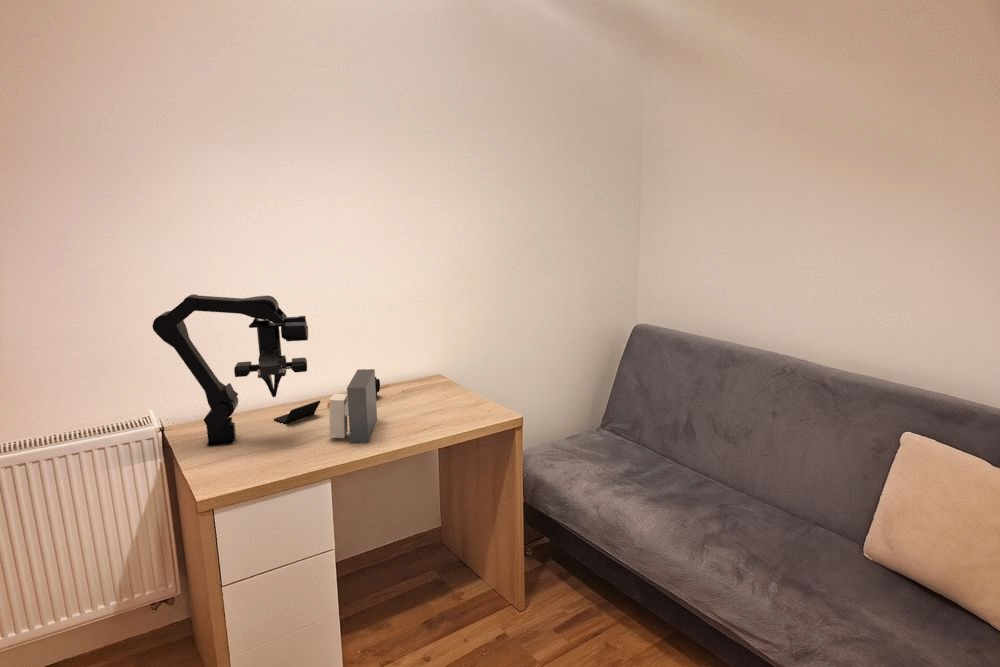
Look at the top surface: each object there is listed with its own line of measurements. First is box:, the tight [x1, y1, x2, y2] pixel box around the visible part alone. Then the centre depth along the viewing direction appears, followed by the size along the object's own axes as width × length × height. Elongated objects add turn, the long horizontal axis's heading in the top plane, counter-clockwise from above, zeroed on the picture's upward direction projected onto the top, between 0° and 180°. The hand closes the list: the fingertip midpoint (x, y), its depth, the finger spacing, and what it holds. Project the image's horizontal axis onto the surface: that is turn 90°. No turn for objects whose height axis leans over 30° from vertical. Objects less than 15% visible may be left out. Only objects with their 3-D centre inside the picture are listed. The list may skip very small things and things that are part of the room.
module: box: [327, 393, 349, 439], centre depth 181 cm, size 5×5×11 cm
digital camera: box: [375, 376, 381, 397], centre depth 213 cm, size 10×5×7 cm, turn 178°
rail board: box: [344, 368, 378, 444], centre depth 186 cm, size 6×18×16 cm, turn 3°
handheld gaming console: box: [273, 400, 321, 425], centre depth 197 cm, size 12×7×10 cm
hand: (274, 396), depth 181 cm, fingers closed
